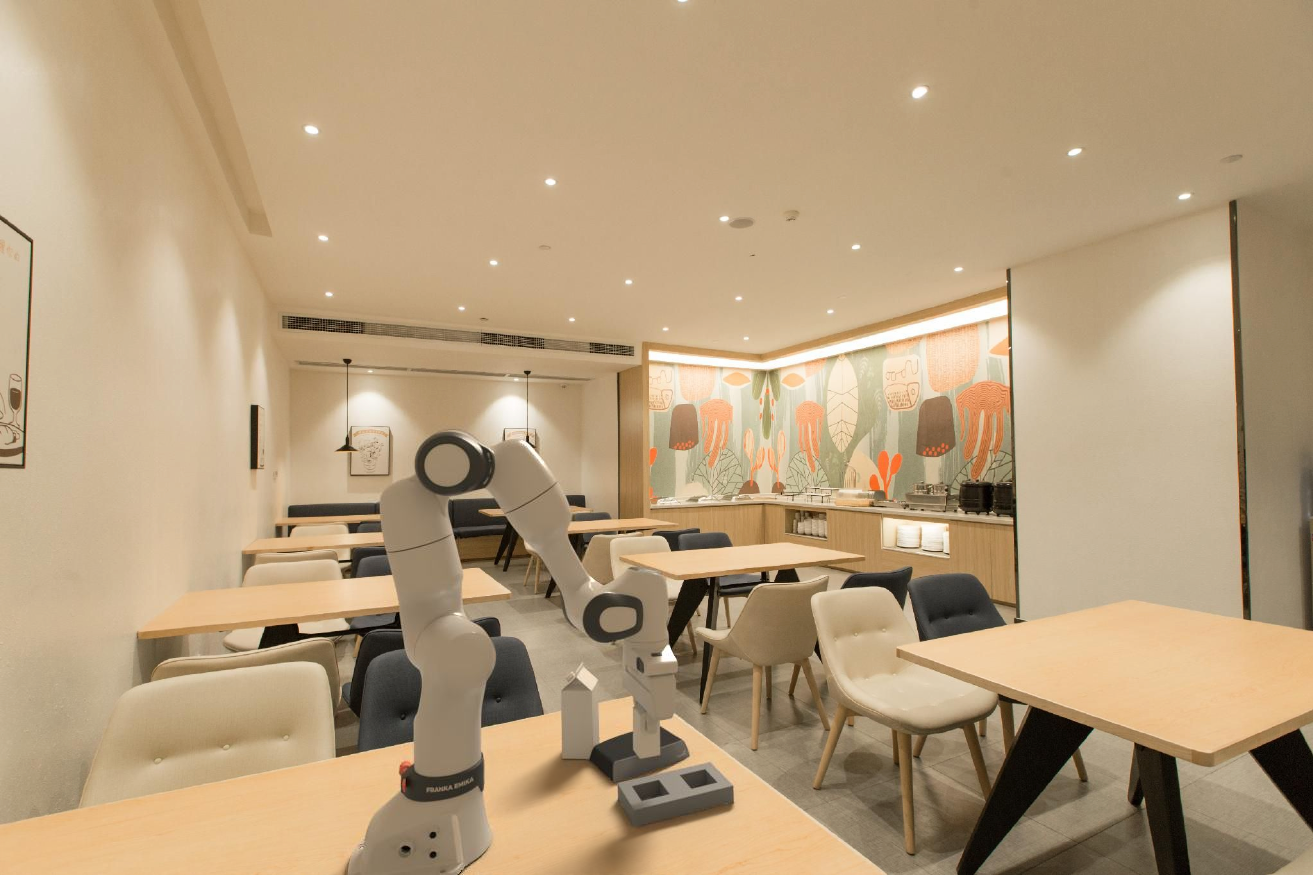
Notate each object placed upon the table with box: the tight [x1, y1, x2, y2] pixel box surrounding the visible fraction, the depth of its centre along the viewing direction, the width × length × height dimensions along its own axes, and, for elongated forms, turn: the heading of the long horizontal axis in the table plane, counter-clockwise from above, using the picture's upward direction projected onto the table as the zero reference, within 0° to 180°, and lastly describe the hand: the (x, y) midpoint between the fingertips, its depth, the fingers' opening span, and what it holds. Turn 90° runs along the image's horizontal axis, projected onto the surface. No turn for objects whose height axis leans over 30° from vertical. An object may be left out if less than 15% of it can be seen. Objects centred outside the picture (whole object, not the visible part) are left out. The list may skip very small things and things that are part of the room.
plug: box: [632, 706, 661, 759], centre depth 111 cm, size 4×4×9 cm
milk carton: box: [560, 661, 600, 760], centre depth 134 cm, size 7×7×19 cm
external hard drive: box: [588, 725, 691, 783], centre depth 130 cm, size 13×19×4 cm
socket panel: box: [617, 761, 735, 828], centre depth 112 cm, size 20×10×3 cm, turn 111°
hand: (646, 726), depth 111 cm, fingers closed on plug, 4 cm apart
